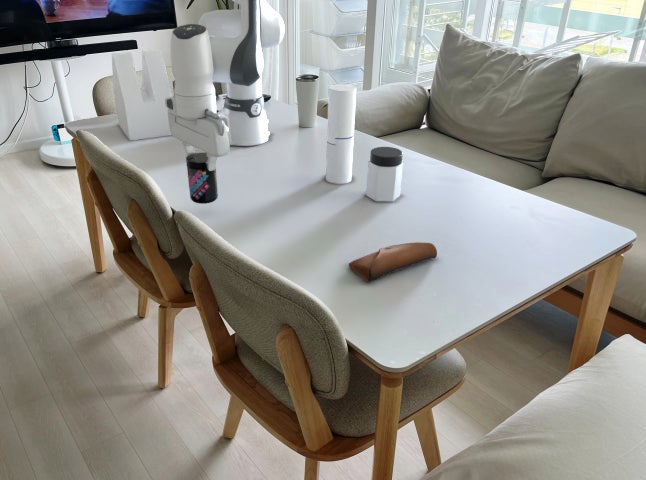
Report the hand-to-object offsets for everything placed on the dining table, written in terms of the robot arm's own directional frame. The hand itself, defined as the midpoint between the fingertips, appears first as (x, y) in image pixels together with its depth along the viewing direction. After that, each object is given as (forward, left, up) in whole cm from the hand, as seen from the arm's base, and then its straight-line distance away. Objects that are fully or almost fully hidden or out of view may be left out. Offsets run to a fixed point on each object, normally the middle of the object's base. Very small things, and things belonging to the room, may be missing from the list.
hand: (201, 164), depth 138 cm
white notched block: (-70, +21, -13) cm, 74 cm away
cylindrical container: (+4, +41, -13) cm, 43 cm away
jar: (+20, +42, -13) cm, 48 cm away
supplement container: (0, 0, -9) cm, 9 cm away
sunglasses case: (+46, +17, -13) cm, 51 cm away
